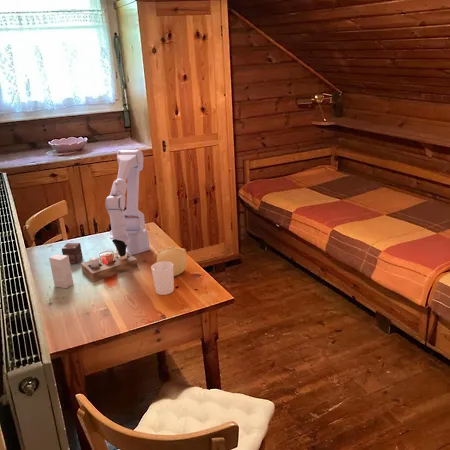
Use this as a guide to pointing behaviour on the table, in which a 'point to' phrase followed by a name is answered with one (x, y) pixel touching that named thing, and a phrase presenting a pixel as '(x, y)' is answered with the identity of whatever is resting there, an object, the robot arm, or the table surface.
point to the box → (73, 252)
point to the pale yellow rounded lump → (173, 258)
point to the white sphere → (94, 262)
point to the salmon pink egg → (109, 258)
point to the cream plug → (122, 257)
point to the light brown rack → (109, 267)
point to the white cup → (163, 277)
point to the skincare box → (61, 271)
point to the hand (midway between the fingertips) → (122, 255)
